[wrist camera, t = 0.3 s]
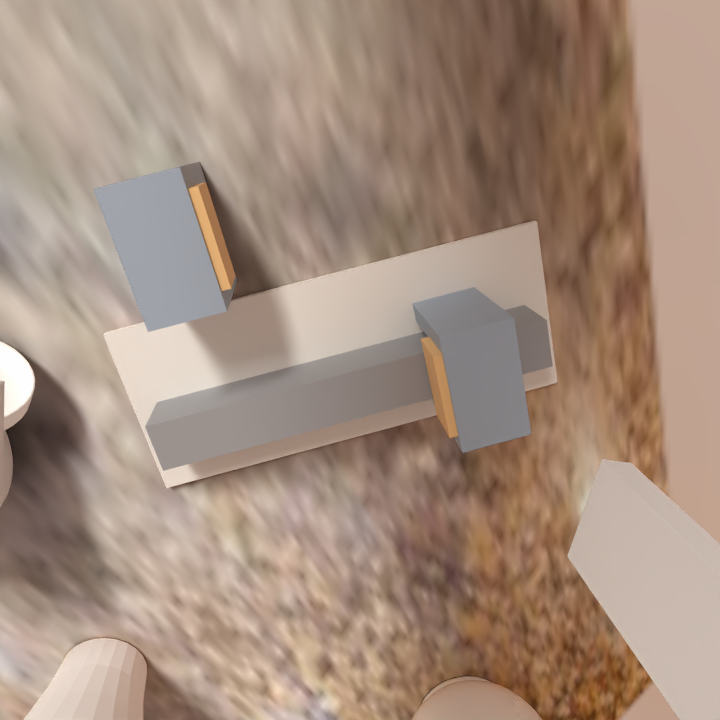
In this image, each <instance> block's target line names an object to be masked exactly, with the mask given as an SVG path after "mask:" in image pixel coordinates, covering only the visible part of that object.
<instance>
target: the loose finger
mask: <svg viewBox="0 0 720 720" xmlns="http://www.w3.org/2000/svg"><path fill="white" fill-rule="evenodd" d="M93 190H94V193H95V195H96V198H97V200H98V203H99V206H100V208H101V211H102V213H103V216H104V219H105V221H106V224H107V226H108V229H109V232H110V234H111V237H112V239H113V242H114V245H115V247H116V250H117V252H118V255H119V258H120V260H121V263H122V265H123V268H124V271H125V273H126V276H127V278H128V281H129V284H130V286H131V289H132V291H133V294H134V297H135V299H136V302H137V304H138V307H139V310H140V312H141V315H142V317H143V320H144V323H145V325H146V328H147V330H148V332H150V331H154V330H158V329H162V328H166V327H169V326H173V325H177V324H181V323H185V322H189V321H192V320H196V319H200V318H204V317H208V316H211V315H215V314H219V313H223V312H227V310H228V307H229V304H230V301H231V298H232V295H233V292H234V289H235V286H236V283H237V278H236V275H235V272H234V269H233V266H232V262H231V260H230V256H229V253H228V250H227V247H226V244H225V241H224V238H223V234H222V231H221V228H220V225H219V222H218V219H217V215H216V212H215V209H214V206H213V203H212V200H211V197H210V193H209V190H208V187H207V183H206V180H205V177H204V174H203V171H202V168H201V165H200V162H197V163H193V164H189V165H185V166H181V167H177V168H174V169H170V170H166V171H162V172H158V173H154V174H150V175H146V176H142V177H138V178H134V179H130V180H126V181H122V182H118V183H114V184H110V185H106V186H103V187H99V188H95V189H93Z"/></svg>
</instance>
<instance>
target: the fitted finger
mask: <svg viewBox="0 0 720 720" xmlns="http://www.w3.org/2000/svg"><path fill="white" fill-rule="evenodd" d="M412 304H413V309H414V313H415V318H416V322H417V323H418V324H419V326H420V327H421V328H422V330H423V331H424V332H425V334H426V335H427V337H425V338H421V343H422V347H423V352H424V357H425V362H426V366H427V371H428V376H429V381H430V385H431V390H432V395H433V403H434V404H435V409H436V414H437V417H438V418H439V420H440V422H441V424H442V425H443V427H444V429H445V431H446V433H447V434H448V436H449V438H453V437H454V439H455V441H456V443H457V444H458V446H459V448H460V450H461V451H462V453H465V452H468V451H472V450H476V449H479V448H483V447H487V446H491V445H494V444H498V443H502V442H505V441H509V440H513V439H516V438H520V437H524V436H527V435H531V428H530V421H529V415H528V408H527V401H526V395H525V388H524V381H523V375H522V368H521V361H520V355H519V348H518V341H517V334H516V328H515V321H514V317H513V316H511V315H510V314H509V313H507V312H506V311H505V310H504V309H502V308H501V307H500V306H498V305H497V304H496V303H494V302H493V301H492V300H490V299H489V298H488V297H487V296H485V295H484V294H483V293H481V292H480V291H479V290H477V289H476V288H475V287H472V288H468V289H465V290H461V291H457V292H453V293H449V294H446V295H442V296H438V297H434V298H430V299H427V300H423V301H419V302H415V303H412Z"/></svg>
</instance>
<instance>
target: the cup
mask: <svg viewBox="0 0 720 720" xmlns="http://www.w3.org/2000/svg"><path fill="white" fill-rule="evenodd" d="M146 677H147V664H146V661H145V659H144V657H143V655H142V654H141V653H140V652H139V651H138V650H137V649H136V648H135V647H133V646H131V645H130V644H128V643H126V642H123V641H120V640H117V639H110V638H98V639H92V640H88V641H84V642H83V643H81V644H79V645H77V646H75V647H74V648H73V649H72V650H71V651H69V652H68V654H67V655H66V657H65V659H64V660H63V662H62V664H61V666H60V668H59V669H58V671H57V673H56V675H55V676H54V678H53V680H52V682H51V683H50V685H49V686H48V688H47V689H46V690H45V692H44V693H43V694H42V696H41V697H40V698H39V700H38V701H37V702H36V704H35V705H34V707H33V708H32V709H31V711H30V712H29V713H28V714H27V716H26V717H25V718H24V719H23V720H143V699H144V692H145V685H146Z"/></svg>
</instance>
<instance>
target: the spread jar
mask: <svg viewBox="0 0 720 720" xmlns="http://www.w3.org/2000/svg"><path fill="white" fill-rule="evenodd" d="M0 380H2V381H5V391H4V450H3V501H2V502H1V503H0V507H1V506H2V504H3V502H4V501H5V499H6V497H7V495H8V493H9V489H10V485H11V481H12V474H13V458H12V450H11V445H10V441H9V437H8V434H7V431H6V429H8V428H10V427H12V426H13V425H15V424H16V423H17V422H18V421H19V420H20V419H22V417H23V416H24V415H25V413H26V412H27V410H28V408H29V405H30V402H31V399H32V396H33V392H34V389H35V376H34V372H33V370H32V368H31V366H30V364H29V362H28V361H27V360H26V359H25V358H24V357H23V355H21V354H20V353H19V352H18V351H16V350H15V349H14V348H12V347H10V346H9V345H7V344H5V343H3V342H1V341H0Z"/></svg>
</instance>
